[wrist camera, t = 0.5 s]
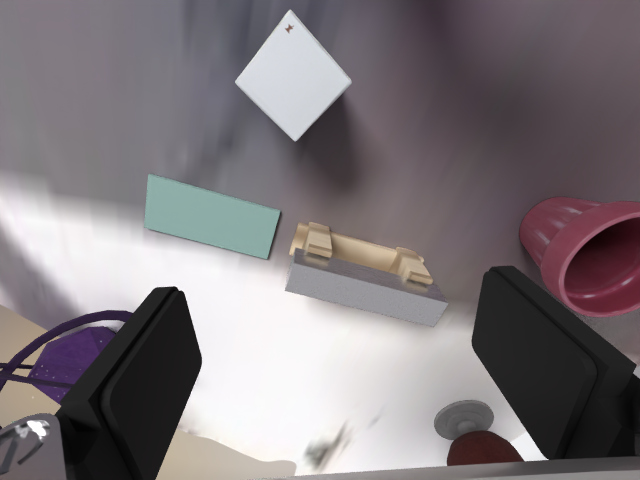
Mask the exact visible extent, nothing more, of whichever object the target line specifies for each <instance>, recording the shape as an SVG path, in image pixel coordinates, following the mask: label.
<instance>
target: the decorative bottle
mask: <svg viewBox="0 0 640 480" xmlns="http://www.w3.org/2000/svg"><path fill="white" fill-rule="evenodd" d="M132 314H133V313H131V312H128V311H118V310H106V311H101V312H96V313H91V314H86V315H83V316H80V317H78V318H75V319H73V320H70V321H68V322H65V323H62V324H60V325H59V326H57V327H55V328H53V329H52V330H50V331H48V332H46V333H45V334H43V335H41V336H40V337H38V338H37V339H35V340H34V341H33V342H31V343H30V344H29V345H28V346H26V347H25V348H24V349H23V350H21V351H20V352H19V353H18V354H16V355H15V356H14V357H13V358H12V359H11V361H10V362H9V363H0V368H3V369H2V371H0V391H1V390H2V388H3V386H4V385H5V383H6V381H7V380H12V381H17V382H24V383H29V384H32V385H33V386H35V387H36V388H38V389H39V390H40V391H42V392H43V393H45V394H46V395H47V396H49V397H50V398H51V399H53V400H54V401H56V402H57V403H58V404H60V401H61V399H62V398H63V397H64V396H65V395H66V393H67V392H68V391H69V390H70V389H71V387H72V386H73V385H74V384H75V383H76V381H77V380H78V379H79V378H80V377H81V375H82V374H83V373H84V372H85V371H86V369H87V368H88V367H89V366H90V365H91V363H92V362H93V361H94V360H95V359H96V357H97V356H98V355H99V354H100V353H101V351H102V350H103V349H104V348H105V347H106V345H107V344H108V343H109V342H110V341H111V339H112V338H113V337H114V336H115V335H116V334H115V333H114V332H112V331H111V330H109V329H107V328H106V327H104V326H100V327H88V328H85V329H82V330H80V331H77V332H75V333H72V334H69V335H68V334H67V336H64V337H62V338H59V339H57V340H54V341H51V342H49V343H47V344H46V346H45V348H44V349H43V351H42V353H41V354H40V356H39V358H38V360H37V361H36V363H35V365H23V364H21V363H22V362H23V361H24V359H25V358H27V357H28V356H29V355H30V354H32V353H33V352H34V351H35V350H37V349H38V348H39V347H40V346H42V345H43V344H44V343H46V342H48V341H50V340H51V339H53V338H54V337H56V336H58V335H60V334H62V333H63V332H65V331H68V330H70V329H73V328H75V327H78V326H80V325H83V324H87V323H91V322H96V321H101V320H120V321H123V322H127V320H128V319H129V318H130V317H131V316H132ZM16 368H20V369H32V370H31V371H30V373H29V375H28V377H23V376H19V375H14V374H12V373H13V372H14V371H15V369H16ZM60 405H61V404H60ZM14 422H15V421H14ZM12 423H13V422H12ZM1 429H3V428H2V427H1V426H0V430H1Z"/></svg>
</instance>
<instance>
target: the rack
mask: <svg viewBox="0 0 640 480" xmlns="http://www.w3.org/2000/svg"><path fill="white" fill-rule="evenodd" d="M295 247H296V248H300V249H304V250H308V252H311V253H314V254H318V255H322V256H326V257H329V258H331V257H334V258H337V259H341V260H345V261H349V262H352V263H356V264H360V265H364V266H367V267H371V268H375V269H379V270H382V271H386V272H390V273H393V274H397V275H401V276H405V277H408V278H410V279H412V280H415V281H419V282H423V283H427V284H430V285H431V283H432V281H433V279H432V278H431V276H430V274H429V273H428V271H427V269H426V268H425V266H424V265H423V262H424V259H423V258H422V257H420V256H418V255H417V254H416V252H415V251H412V250H408V249H405V248H401V247H398V246H397V248H396V250H395V249H391V248H388V247H384V246H381V245H377V244H374V243H370V242H366V241H363V240H359V239H356V238H352V237H349V236H345V235H342V234H338V233H334V232H331V231H330V230H329V227H327V226H323V225H320V224H316V223H313V222H309V225H306V224H302V223H298V226H297V229H296V233H295V236H294V239H293V242H292V246H291V249H290V253H289V255H293V254H294V250H295Z"/></svg>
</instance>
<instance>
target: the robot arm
mask: <svg viewBox="0 0 640 480" xmlns="http://www.w3.org/2000/svg"><path fill="white" fill-rule="evenodd" d="M472 346H473V349H474V351H475V353H476V355H477V356H478V358H479V359H480V361H481V362H482V364H483V365H484V367H485V368H486V370H487V371H488V373H489V374H490V376H491V377H492V379H493V380H494V382H495V383H496V385H497V386H498V388H499V389H500V391H501V392H502V394H503V395H504V397H505V398H506V400H507V401H508V403H509V404H510V406H511V407H512V409H513V410H514V412H515V414H516V415H517V417H518V418H519V420H520V421H521V423H522V424H523V426H524V427H525V429H526V430H527V432H528V433H529V434H530V436H531V438H532V439H533V441H534V442H535V444H536V445H537V447H538V448H539V450H540V451H541V453H542V454H543V455H544V456H545V457H546V458H547V459H549V460H542V461H526V462H508V463H492V464H475V465H458V466H442V467H426V468H411V469H395V470H380V471H365V472H350V473H335V474H320V475H305V476H291V477H277V478H263V479H249V480H640V379H639V378H638V377H637V376H635V375H634V374H633V372H634V370H635V368H636V364H635V363H634V362H632V361H631V360H630V359H629V358H627V357H626V356H625V355H624V354H622V353H621V352H620V351H619V350H617V349H616V348H615V347H614V346H612V345H611V344H610V343H609V342H607V341H606V340H605V339H604V338H602V337H601V336H600V335H599V334H597V333H596V332H595V331H594V330H593V329H591V328H590V327H589V326H588V325H586V324H585V323H584V322H583V321H581V320H580V319H579V318H578V317H576V316H575V315H574V314H573V313H571V312H570V311H569V310H568V309H566V308H565V307H564V306H563V305H561V304H560V303H559V302H558V301H556V300H555V299H554V298H553V297H551V296H550V295H549V294H548V293H546V292H545V291H544V290H543V289H541V288H540V287H539V286H538V285H536V284H535V283H534V282H533V281H532V280H530V279H529V278H528V277H527V276H525V275H524V274H523V273H522V272H520V271H519V270H518V269H517V268H515V267H514V266H498V267H492V268H490V270H489V272H486V273H485V274H484V276H483V282H482V287H481V292H480V298H479V303H478V308H477V314H476V319H475V325H474V330H473V335H472ZM201 365H202V357H201V353H200V349H199V345H198V342H197V338H196V334H195V331H194V327H193V323H192V320H191V316H190V312H189V309H188V305H187V301H186V298H185V294H184V292H183V291H179V290H178V288H177V287H175V286H173V287H157V288H155V289H153V290H152V292H151V293H150V294H149V295H148V296H147V298H146V299H145V300H144V301H143V302H142V304H141V305H140V306H139V307H138V308H137V310H136V311H135V312H134V313H133V314H132V316H131V317H130V318H129V319H128V320H127V322H126V323H125V324H124V325H123V326H122V328H121V329H120V330H119V331H118V332H117V334H116V335H115V336H114V337H113V338H112V339H111V341H110V342H109V343H108V344H107V345H106V347H105V348H104V349H103V350H102V351H101V353H100V354H99V355H98V356H97V357H96V359H95V360H94V361H93V362H92V363H91V365H90V366H89V367H88V368H87V369H86V371H85V372H84V373H83V374H82V375H81V377H80V378H79V379H78V380H77V381H76V383H75V384H74V385H73V386H72V387H71V389H70V390H69V391H68V392H67V393H66V395H65V396H64V397H63V398H62V399H61V401H60V404H61V408H60V409H59V410H58V411H57V412H56V414H55V415H52V414H47V413H43V414H42V413H40V414H35V415H32V416H27V417H25V418H23V419H20V420H18V421H15V422H13V423H11V424H10V425H8V426H6V427H4V428H3V429H1V430H0V480H155V479H156V477H157V475H158V472H159V470H160V467H161V465H162V462H163V460H164V457H165V455H166V452H167V450H168V447H169V445H170V443H171V440H172V438H173V435H174V433H175V430H176V428H177V426H178V423H179V421H180V418H181V416H182V413H183V411H184V408H185V406H186V404H187V401H188V399H189V396H190V394H191V391H192V389H193V386H194V384H195V381H196V379H197V377H198V374H199V372H200V369H201Z"/></svg>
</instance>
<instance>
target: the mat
mask: <svg viewBox="0 0 640 480" xmlns="http://www.w3.org/2000/svg"><path fill="white" fill-rule="evenodd" d="M279 214H280V210H276V209H273V208H269V207H266V206H262V205H259V204H255V203H252V202H248V201H245V200H241V199H238V198H234V197H231V196H227V195H224V194H220V193H217V192H213V191H210V190H206V189H203V188H199V187H196V186H192V185H189V184H185V183H182V182H178V181H174V180H171V179H167V178H164V177H160V176H157V175H153V174H149V175H148V185H147V198H146V210H145V222H144V228H148V229H152V230H155V231H159V232H163V233H167V234H171V235H175V236H179V237H183V238H186V239H190V240H194V241H198V242H202V243H206V244H210V245H214V246H217V247H221V248H225V249H229V250H233V251H237V252H241V253H245V254H248V255H252V256H256V257H260V258H264V259H267V257H268V254H269V250H270V246H271V243H272V239H273V236H274V232H275V228H276V225H277V221H278V218H279Z"/></svg>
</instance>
